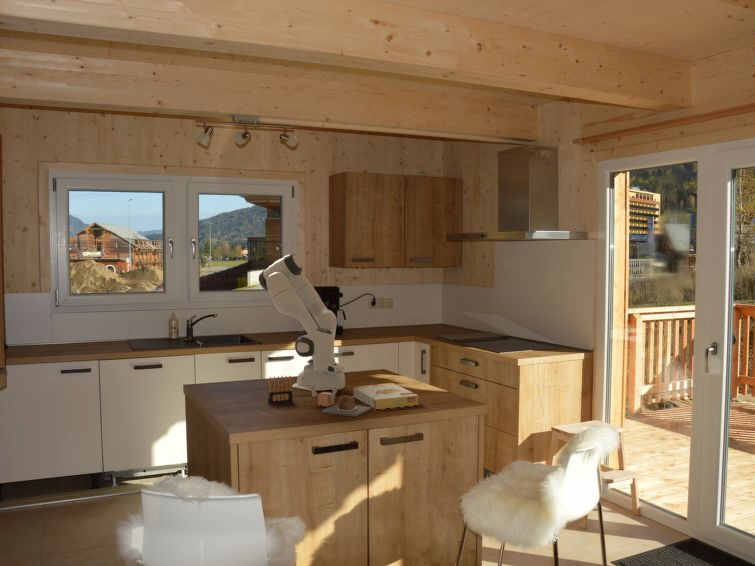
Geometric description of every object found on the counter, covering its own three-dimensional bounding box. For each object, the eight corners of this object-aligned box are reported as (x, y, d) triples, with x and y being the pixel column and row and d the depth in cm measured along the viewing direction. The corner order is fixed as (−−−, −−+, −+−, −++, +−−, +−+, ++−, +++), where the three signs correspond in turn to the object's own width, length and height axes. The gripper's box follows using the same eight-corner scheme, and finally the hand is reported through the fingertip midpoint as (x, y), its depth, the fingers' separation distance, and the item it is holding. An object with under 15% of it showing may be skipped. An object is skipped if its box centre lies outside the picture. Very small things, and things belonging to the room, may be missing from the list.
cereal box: (392, 381, 322) (419, 393, 296) (392, 393, 323) (419, 406, 297) (352, 386, 314) (376, 398, 288) (352, 398, 314) (377, 411, 289)
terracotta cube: (318, 405, 297) (317, 394, 297) (324, 403, 302) (324, 391, 302) (327, 406, 295) (327, 395, 295) (333, 404, 299) (333, 393, 299)
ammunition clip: (291, 401, 305) (291, 374, 304) (292, 402, 303) (292, 375, 303) (268, 403, 301) (267, 376, 300) (268, 404, 299) (268, 377, 299)
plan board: (322, 412, 284) (322, 409, 284) (338, 405, 297) (338, 403, 297) (355, 416, 277) (355, 414, 277) (371, 409, 289) (371, 407, 289)
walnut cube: (338, 409, 286) (338, 397, 285) (344, 406, 290) (344, 395, 290) (349, 410, 283) (349, 398, 283) (354, 407, 288) (354, 396, 287)
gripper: (299, 364, 299) (299, 395, 300) (339, 369, 290) (339, 401, 290) (308, 362, 305) (307, 393, 306) (347, 366, 295) (346, 398, 296)
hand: (323, 397), depth 298 cm, fingers open, 8 cm apart
